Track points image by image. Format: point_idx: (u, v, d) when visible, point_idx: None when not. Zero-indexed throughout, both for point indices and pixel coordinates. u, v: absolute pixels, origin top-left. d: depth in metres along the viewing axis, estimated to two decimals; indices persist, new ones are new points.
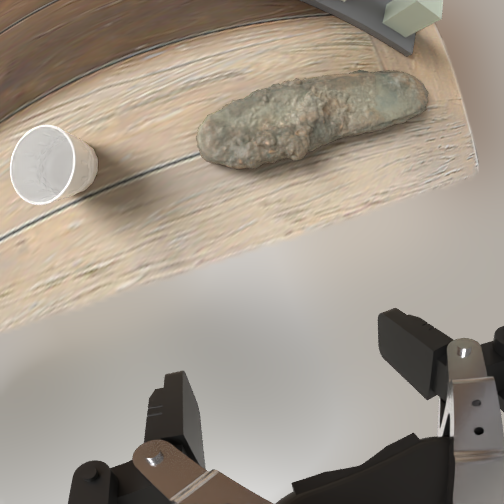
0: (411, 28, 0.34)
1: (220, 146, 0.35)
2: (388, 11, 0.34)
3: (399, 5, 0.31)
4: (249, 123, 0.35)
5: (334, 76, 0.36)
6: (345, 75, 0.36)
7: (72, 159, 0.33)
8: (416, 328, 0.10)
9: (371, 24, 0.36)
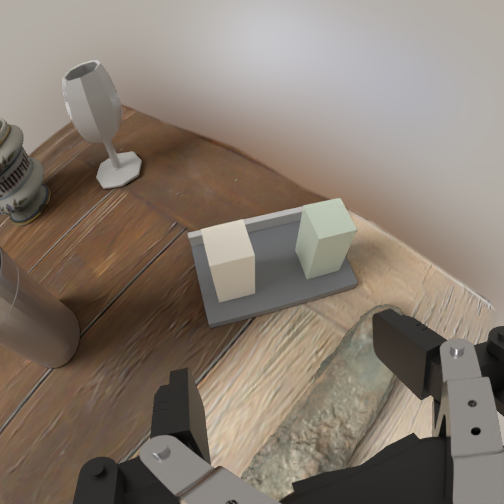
0: (337, 261, 0.37)
1: None
2: (302, 261, 0.39)
3: (307, 249, 0.36)
4: None
5: (304, 399, 0.32)
6: (313, 387, 0.32)
7: None
8: (410, 328, 0.10)
9: (298, 293, 0.39)
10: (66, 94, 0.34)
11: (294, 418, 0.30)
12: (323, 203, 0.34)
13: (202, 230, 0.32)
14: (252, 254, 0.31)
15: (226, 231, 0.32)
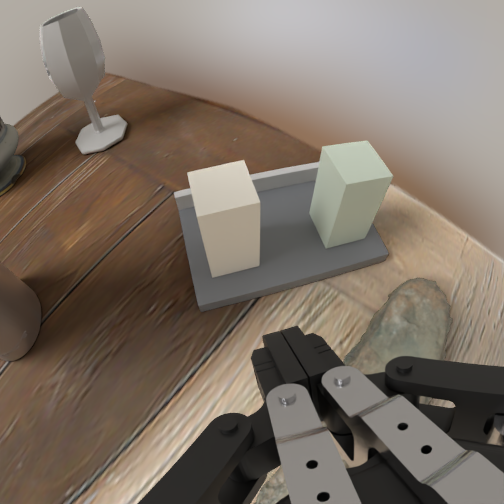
0: (364, 223, 0.29)
1: None
2: (319, 225, 0.30)
3: (327, 206, 0.28)
4: None
5: None
6: None
7: None
8: (305, 350, 0.11)
9: (315, 266, 0.30)
10: (42, 41, 0.25)
11: None
12: (347, 145, 0.25)
13: (189, 173, 0.23)
14: (257, 201, 0.22)
15: (221, 174, 0.23)
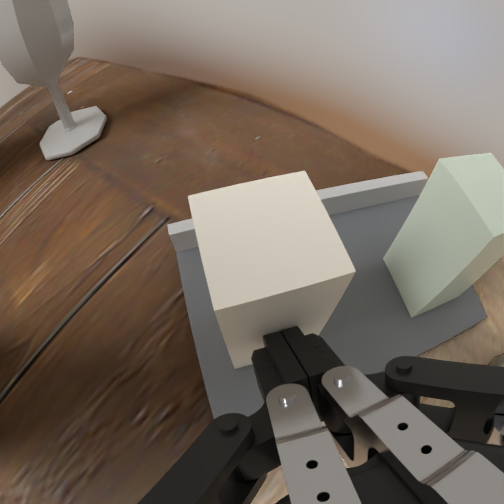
0: (471, 281, 0.16)
1: None
2: (405, 282, 0.18)
3: (431, 260, 0.15)
4: None
5: None
6: None
7: None
8: (305, 349, 0.11)
9: (398, 348, 0.17)
10: None
11: None
12: (471, 159, 0.13)
13: (192, 198, 0.11)
14: (349, 269, 0.10)
15: (262, 201, 0.11)
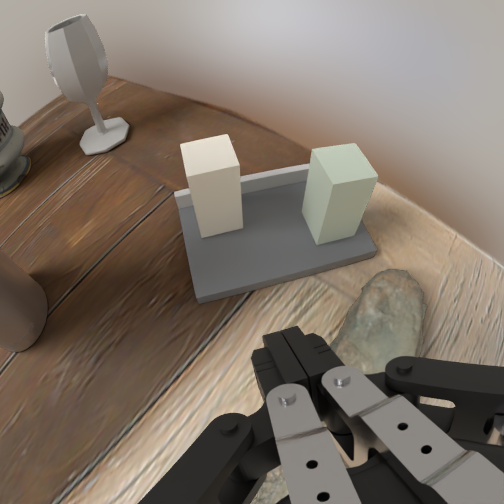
0: (353, 221, 0.30)
1: None
2: (311, 223, 0.32)
3: (317, 205, 0.29)
4: None
5: None
6: None
7: None
8: (305, 350, 0.11)
9: (306, 261, 0.32)
10: (48, 47, 0.27)
11: None
12: (336, 147, 0.27)
13: (182, 145, 0.27)
14: (236, 164, 0.26)
15: (208, 144, 0.27)
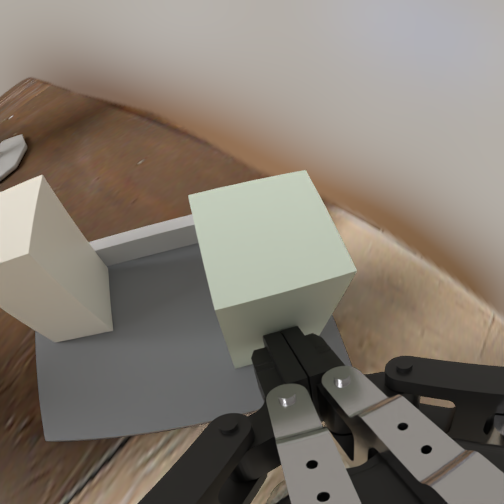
0: None
1: None
2: None
3: None
4: None
5: None
6: None
7: None
8: (305, 349, 0.11)
9: (213, 404, 0.16)
10: None
11: None
12: (251, 186, 0.11)
13: None
14: (25, 251, 0.10)
15: (7, 202, 0.11)
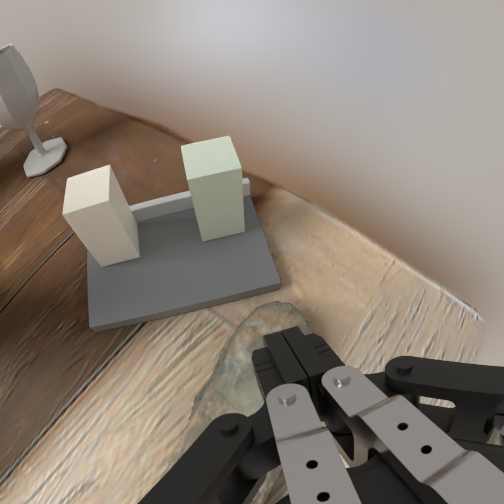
0: (234, 217, 0.30)
1: None
2: None
3: None
4: None
5: (178, 451, 0.22)
6: (186, 433, 0.23)
7: None
8: (305, 349, 0.11)
9: (196, 294, 0.30)
10: None
11: None
12: (206, 142, 0.27)
13: (68, 179, 0.25)
14: (106, 199, 0.24)
15: (89, 178, 0.25)
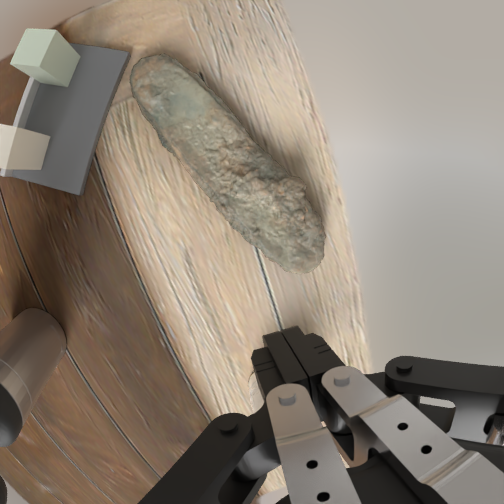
0: (71, 55, 0.28)
1: (312, 251, 0.41)
2: (52, 82, 0.30)
3: (44, 76, 0.27)
4: (284, 236, 0.40)
5: (192, 172, 0.37)
6: (183, 160, 0.36)
7: None
8: (305, 349, 0.11)
9: (99, 106, 0.33)
10: None
11: (207, 185, 0.37)
12: (19, 45, 0.21)
13: None
14: (15, 128, 0.24)
15: None
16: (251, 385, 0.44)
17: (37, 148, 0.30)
